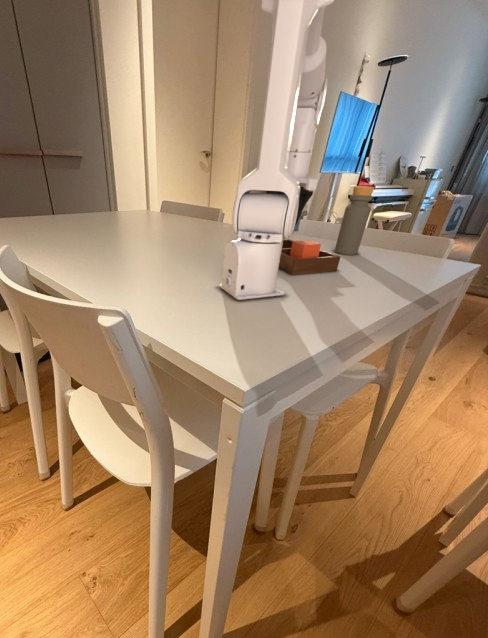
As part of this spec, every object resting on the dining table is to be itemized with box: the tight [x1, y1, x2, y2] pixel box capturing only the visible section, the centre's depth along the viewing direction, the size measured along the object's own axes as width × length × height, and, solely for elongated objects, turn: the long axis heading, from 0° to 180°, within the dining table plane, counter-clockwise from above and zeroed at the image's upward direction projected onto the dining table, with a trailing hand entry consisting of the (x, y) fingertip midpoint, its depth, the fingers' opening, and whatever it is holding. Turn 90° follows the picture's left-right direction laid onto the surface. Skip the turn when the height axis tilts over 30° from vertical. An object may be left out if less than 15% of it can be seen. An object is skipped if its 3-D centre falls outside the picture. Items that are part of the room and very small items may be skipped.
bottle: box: [334, 185, 375, 256], centre depth 86 cm, size 6×6×15 cm
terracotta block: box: [290, 239, 322, 259], centre depth 75 cm, size 4×4×4 cm
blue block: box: [293, 214, 302, 233], centre depth 79 cm, size 4×4×4 cm
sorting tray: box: [278, 238, 341, 276], centre depth 80 cm, size 20×12×3 cm, turn 20°
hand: (285, 223), depth 79 cm, fingers closed on blue block, 4 cm apart
